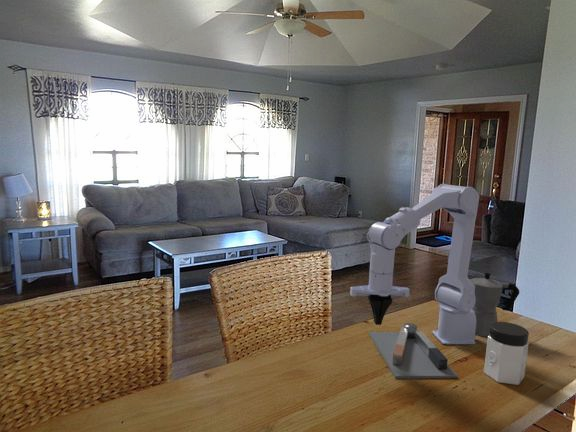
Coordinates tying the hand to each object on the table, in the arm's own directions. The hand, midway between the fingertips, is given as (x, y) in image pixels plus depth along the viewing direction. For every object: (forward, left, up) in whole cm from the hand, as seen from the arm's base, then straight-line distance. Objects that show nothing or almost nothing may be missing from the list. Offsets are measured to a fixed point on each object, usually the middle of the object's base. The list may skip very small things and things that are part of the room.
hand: (377, 323), depth 109 cm
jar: (-29, +9, -10) cm, 32 cm away
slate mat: (-9, -2, -9) cm, 14 cm away
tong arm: (-9, -4, -8) cm, 13 cm away
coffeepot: (-38, -16, -10) cm, 42 cm away
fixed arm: (-14, -1, -8) cm, 17 cm away
